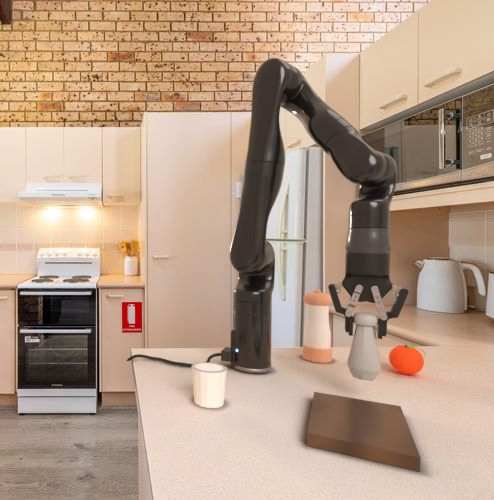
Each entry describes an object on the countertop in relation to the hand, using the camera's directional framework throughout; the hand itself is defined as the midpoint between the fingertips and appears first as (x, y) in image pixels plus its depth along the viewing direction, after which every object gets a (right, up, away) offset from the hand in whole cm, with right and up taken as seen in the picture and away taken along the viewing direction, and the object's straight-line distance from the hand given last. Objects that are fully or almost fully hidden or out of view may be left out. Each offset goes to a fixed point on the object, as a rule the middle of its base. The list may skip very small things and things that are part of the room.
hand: (364, 336), depth 78 cm
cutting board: (-9, -13, -13) cm, 21 cm away
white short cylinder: (-32, -13, -2) cm, 34 cm away
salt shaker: (0, -8, 0) cm, 8 cm away
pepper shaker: (+5, -13, +29) cm, 32 cm away
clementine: (+21, -13, +17) cm, 30 cm away
